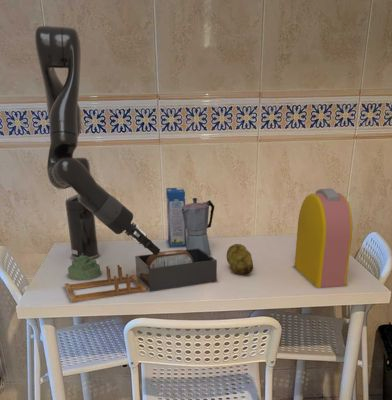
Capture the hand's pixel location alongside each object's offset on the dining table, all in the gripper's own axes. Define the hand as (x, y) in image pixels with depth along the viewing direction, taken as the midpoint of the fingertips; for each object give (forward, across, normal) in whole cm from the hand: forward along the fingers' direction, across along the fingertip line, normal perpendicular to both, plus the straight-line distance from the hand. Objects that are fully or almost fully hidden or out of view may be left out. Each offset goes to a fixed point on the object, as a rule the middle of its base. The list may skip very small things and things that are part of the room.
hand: (153, 248), depth 149 cm
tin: (+10, -1, +4) cm, 11 cm away
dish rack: (-4, 0, +18) cm, 19 cm away
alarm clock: (+42, -15, -27) cm, 53 cm away
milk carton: (+23, +39, -8) cm, 46 cm away
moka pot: (+24, +22, -9) cm, 34 cm away
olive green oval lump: (+27, -1, -12) cm, 30 cm away
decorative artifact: (-6, +16, +21) cm, 27 cm away
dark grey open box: (+12, 0, +3) cm, 12 cm away
